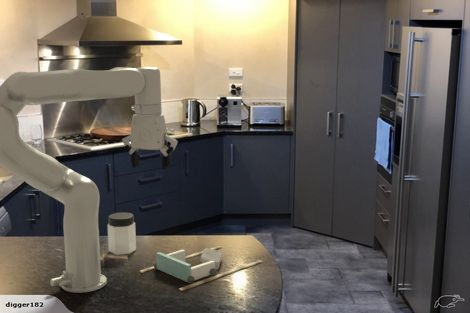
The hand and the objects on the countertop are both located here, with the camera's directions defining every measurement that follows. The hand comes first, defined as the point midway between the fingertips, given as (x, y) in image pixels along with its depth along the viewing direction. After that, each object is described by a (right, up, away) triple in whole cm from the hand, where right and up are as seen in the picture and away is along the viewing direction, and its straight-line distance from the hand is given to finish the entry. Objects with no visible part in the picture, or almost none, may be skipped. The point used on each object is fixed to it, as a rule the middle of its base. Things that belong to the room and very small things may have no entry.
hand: (150, 167), depth 184 cm
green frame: (+10, -31, +2) cm, 33 cm away
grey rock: (+17, -31, +9) cm, 36 cm away
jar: (-12, -28, +22) cm, 38 cm away
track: (+15, -31, +7) cm, 35 cm away
